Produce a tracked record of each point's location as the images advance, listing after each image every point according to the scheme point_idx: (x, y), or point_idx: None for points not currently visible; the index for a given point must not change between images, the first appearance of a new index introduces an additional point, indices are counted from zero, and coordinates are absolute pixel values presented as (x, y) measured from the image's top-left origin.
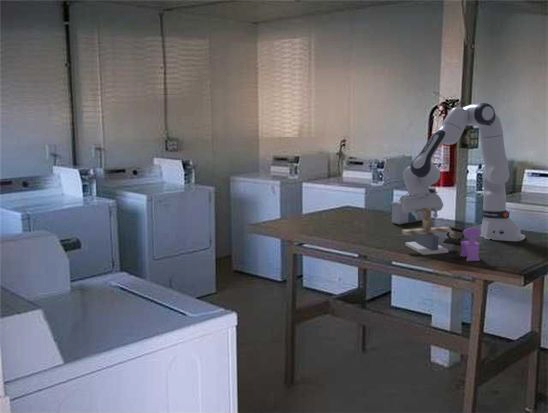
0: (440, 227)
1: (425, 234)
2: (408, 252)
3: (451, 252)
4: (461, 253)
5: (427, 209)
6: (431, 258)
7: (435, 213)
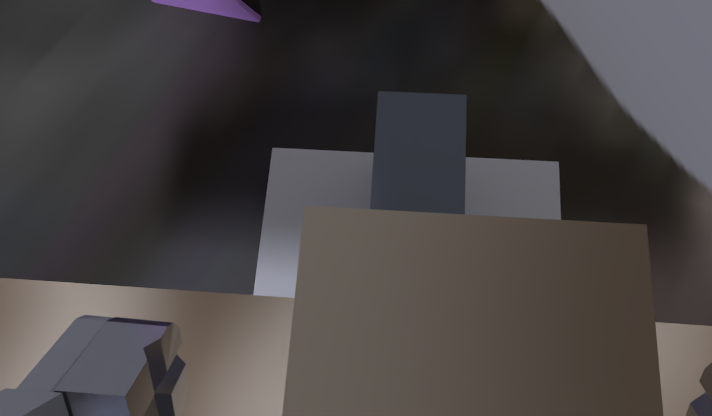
0: None
1: None
2: (659, 312)
3: (246, 157)
4: (245, 4)
5: (527, 219)
6: (531, 39)
7: (89, 375)
